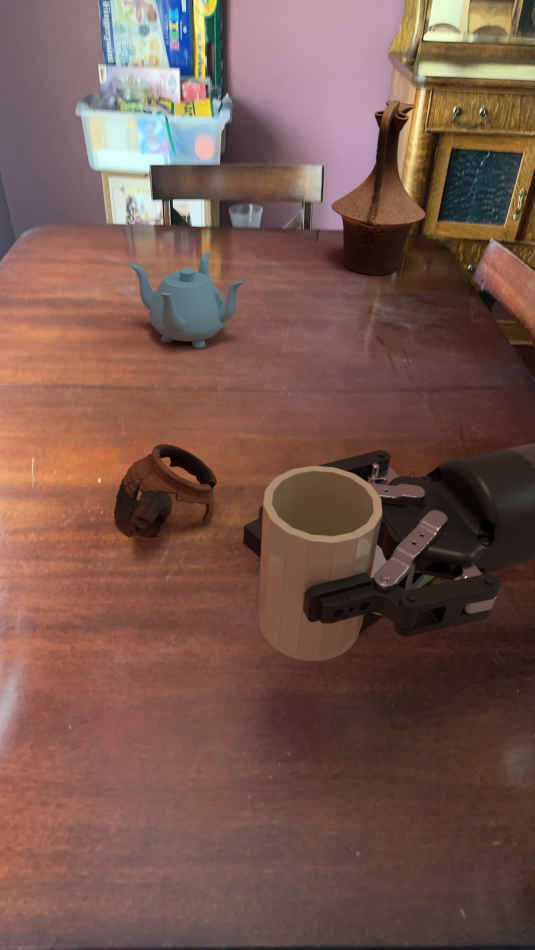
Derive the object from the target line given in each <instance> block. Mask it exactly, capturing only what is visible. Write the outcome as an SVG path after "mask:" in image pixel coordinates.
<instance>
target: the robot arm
mask: <svg viewBox="0 0 535 950" xmlns="http://www.w3.org/2000/svg"><path fill="white" fill-rule="evenodd" d="M390 462H391V454H390V452H388V451H387V450H383V449H377V450H374V451H370V452H365V453H362V454H357V455H354V456H350V457H346V458H343V459H339V460H338V459H337V460H334V461H330V462H327V463H323V464H318V465H317V466H323V467H334V468H338V469H341V470H344V471H347V472H350V473H353V474H356V475H357V476H359V477H360V478H362V479H363V480H365V481H366V482H368V483H369V484H371V485H372V487H373V488H374V490H375V491H376V492H377V494H378V495H379V497H380V498H381V503H382V519H381V524H380V529H379V535H378V540H377V545H378V546H379V547H380V548H381V549H382V552H383V555H384V558H385V559H386V561H387V562H386V563H385V564H384V565H383V566H382V567H381V568H380V569H379V570H378V571H377V572H376V573H375V575H374V577H373V578H370V577H369V575H368V574H367V573H366V572H364V573H360V574H356V575H353V576H351V577H347V578H342V579H338V580H333V581H329V582H326V583H322V584H318V585H314V586H311V587H309V588H308V589H307V590H306V591H305V594H304V603H303V612H304V613H305V615H306V617H307V619H308V621H310V622H316V621H320V622H321V623H329V624H332V623H335V622H339V621H340V620H346V619H347V618H348V619H349V618H353V617H356V616H360V615H363V614H367V613H371V612H372V613H374V614H376V615H383V617H385V618H386V619H388V620H389V621H391V622H392V623H393V626H392V627H393V631H394V632H395V633H396V634H397V635H399V636H401V637H412V636H416V635H420V634H426V633H431V632H435V631H439V630H442V629H447V628H451V627H456V626H460V625H465V624H469V623H474V622H479V621H482V620H486V619H489V618H490V617H491V614H492V611H493V608H494V607H495V604H496V601H497V599H498V595H499V592H500V589H501V586H502V583H501V580H500V579H499V578H498V577H497V576H496V575H494V574H490V573H491V572H494V571H498V570H502V569H505V568H509V567H512V566H517V565H520V564H525V563H528V562H530V561H534V560H535V442H528V443H524V444H519V445H514V446H510V447H505V448H499V449H495V450H491V451H486V452H481V453H477V454H472V455H468V456H462V457H458V458H457V457H456V458H453V459H449V460H446V461H444V462H442V463H441V464H439V465H438V466H436V467H435V468H434V469H433V470H432V471H430V472H429V473H427V474H426V475H424V476H423V475H422V476H410V475H399V474H398V473H397V472H396V471H395V470H394V469H393V468H392V467H391V466H390ZM258 518H259V519H258ZM258 518H257V519H258V527H259V529H260V531H261V533H262V518H263V504H262V505H261V506H260V507H259V509H258ZM427 575H430V576H434V577H436V578H438V579H439V578H440V579H444V580H449V581H445V582H444V581H443V582H439V583H434V584H429V585H425V586H423V587H420V588H415V587H416V586H417V585H418V583H419V582H420V581H421V580H422V579H423V578H424V577H425V576H427ZM414 588H415V589H414Z"/></svg>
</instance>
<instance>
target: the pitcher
mask: <svg viewBox="0 0 535 950" xmlns="http://www.w3.org/2000/svg"><path fill="white" fill-rule="evenodd" d="M385 105H386V107H385V109H384V110H377V111H375V112H374V119H375V122H376V124H377V126H378V134H377V135H378V136H377V143H376V150H375V151H376V154H375V164H374V165H373V168H372V170H371V172H370V174H368V176H367V177H366V179H364V181H362V182H361V183H360V184H359V185H358V186H356V188H354V189H353V190H352V191H349V192H348V193H347V194H345V195H344V196H342V197H340V198H338V199H337V200H335V201H333V202H332V204H331V209H332V211H334V212H335V213H336V214H338V215H340V218H341V220H342V235H343V236H342V239H343V245H342V246H343V252H342V259H341V262H342V265H343V266H344V267H345V268H348V269H349V270H352V271H354V272H357V273H362V274H367V275H378V276H379V275H388V274H392V273H395V272H396V271H398V270H399V268H400V262H401V258H402V254H403V251H404V249H405V246H406V244H407V241H408V237H409V235H410V232H411V230H412V227H413V226H414V224H415V223H417V222H419V221H422V220H423V219H425V217H426V212H425V210H424V209H423V208H422V207H421V206H420V205H418V203H417V202H416V201H415V200H414V199H413V198H412V197H411V196H410V194H409V193H408V191H407V189H406V188H405V186H404V185H403V182H402V179H401V177H400V171H399V163H398V152H399V141H400V134H401V131H402V130H403V129H404V127H405V125H406V124H407V123H408V121H409V119H410V116H409V115H408V113H409V112H411V111H413V110H414V109H416V105H415V104H414V103H406V102H401V101H400V100H398V99H393V100H387V101H385Z"/></svg>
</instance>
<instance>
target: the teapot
mask: <svg viewBox="0 0 535 950" xmlns="http://www.w3.org/2000/svg"><path fill="white" fill-rule="evenodd" d="M209 261H210V253H209V251H206V252H205V251H204V252H203V254H202V255H201V257H200V261H199V264H198V269H197V271H196V270H195V269H194V268H192V267H182V268H180V269H179V270H178V271H175V272H172V273H169V274H167V275H166V276H165V277H164V278H163V279H162V280H161V281H160V283H159V285H158V287H157V289H156V290H155V291H154V290H153V289H152V287H151V285H150V282H149V277H148V274H147V272H146V270H145V269H144V268H143V267H142V266H141V265H139V264H136V263H132V262H130V263H128V264H129V266H130V267H131V268H132V269H133V270H134V271H135V273H136V275H137V277H138V282H139V294H140V299H141V301H142V304H143V305H144V306H145V307H146V309H148V310H149V312H148V319H149V323H150V324H151V326H152V327H153V328H154V329H155V330H156V332H158V333H159V334H160V335H162V336H161V338H160V341H161V342H163V343H172V342H174V341H179V342H191V346H192V347H193V348H196V349H197V348H198V349H200V348H204V347H206V342H205V340H207V339H210V338H212V337H214V336H216V335H217V334H218V333H219V332H220V331H221V330H222V329H223V328H224V326H225V325H226V324H227V321H229V320H230V319H231V318H232V317H233V316H234V314H235V312H236V309H237V293H238V289H239V287H240V286H241V285H242V284H244V283H245V282H246V279H240V280H235V281H233V282H231V283H230V284H229V286H228V289H227V295H226V300H225V301H224V298H223V296H222V294H221V292H220V290H219V288H218V287H217V285H216V284H215V282H214V281H213V280H212V279H211V276H210V269H209Z"/></svg>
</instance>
